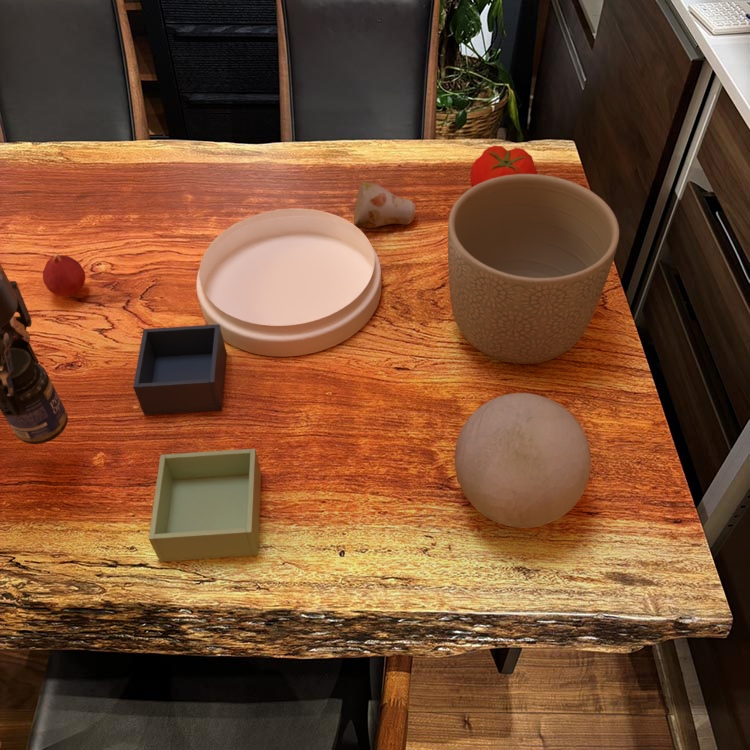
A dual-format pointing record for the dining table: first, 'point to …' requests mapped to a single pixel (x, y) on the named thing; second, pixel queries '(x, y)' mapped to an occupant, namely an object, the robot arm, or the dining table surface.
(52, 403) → the pill bottle
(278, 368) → the dining table surface
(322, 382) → the dining table surface
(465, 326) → the planter
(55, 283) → the onion
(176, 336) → the bin
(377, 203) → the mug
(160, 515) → the box
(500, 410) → the decorative sphere
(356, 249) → the plate
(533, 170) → the tomato
